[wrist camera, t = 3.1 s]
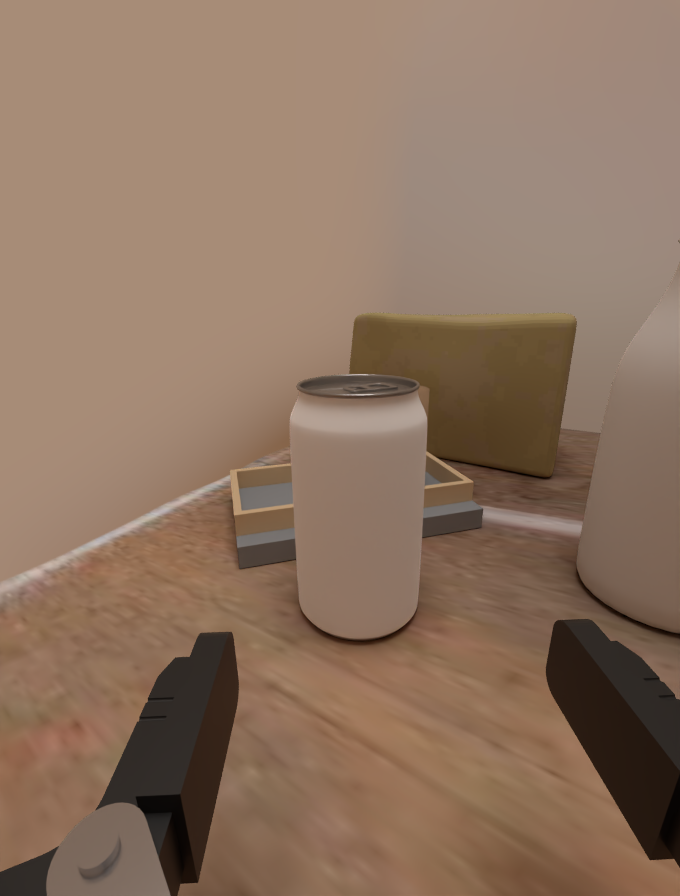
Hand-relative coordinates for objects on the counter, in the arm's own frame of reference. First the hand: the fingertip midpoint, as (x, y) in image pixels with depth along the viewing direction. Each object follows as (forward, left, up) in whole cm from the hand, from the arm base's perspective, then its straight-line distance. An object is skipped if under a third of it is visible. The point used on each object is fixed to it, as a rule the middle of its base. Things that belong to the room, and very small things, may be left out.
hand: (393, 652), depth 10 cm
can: (-3, -10, -7) cm, 13 cm away
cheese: (-19, -31, -7) cm, 38 cm away
